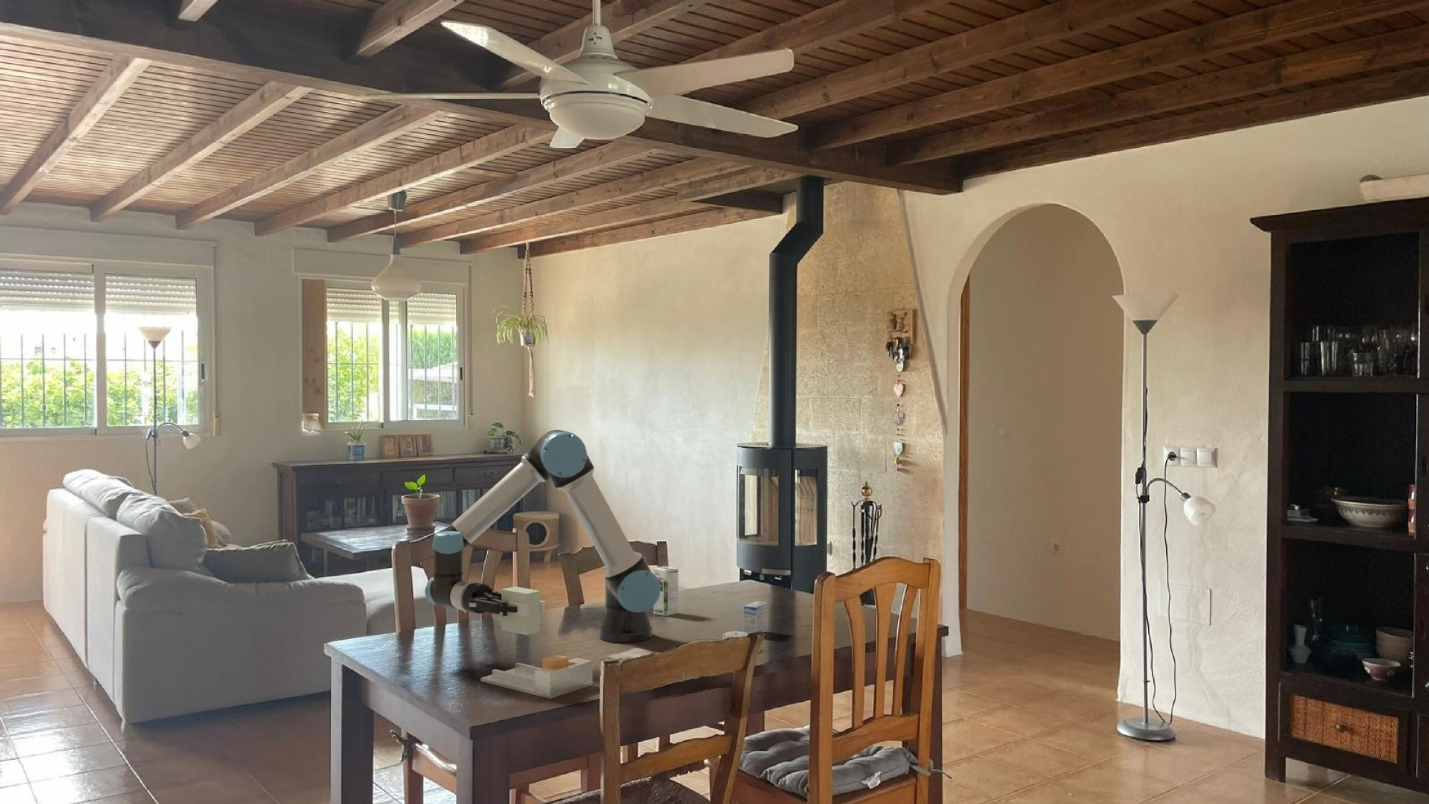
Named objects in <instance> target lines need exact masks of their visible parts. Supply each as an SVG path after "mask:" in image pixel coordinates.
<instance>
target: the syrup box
mask: <svg viewBox="0 0 1429 804" xmlns="http://www.w3.org/2000/svg"><path fill="white" fill-rule="evenodd" d="M653 574H654V575H655V576H656V577H657V578H658V581H659V584H660V596H659V598H658V601H657V602H656V604H655V605H654V606H653V614H654V615H658V616H659V615H660V616H662V617H663V616H664V617H669V616H672V615H676V614H679V568H678V567H677V568H676V567H670V566H658V567H654V569H653Z"/></svg>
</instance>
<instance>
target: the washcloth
mask: <svg viewBox="0 0 1429 804" xmlns="http://www.w3.org/2000/svg"><path fill="white" fill-rule="evenodd" d="M654 652H655V651H651V650H648V649H644V648H640V647H637V648H636V647H635V648H631V649H630V650H627V651H618V652H616V653H613V654H610V655H607V658H606V659H607V660H608V659H618V660H620V659H626V658H636V657H640V656H642V655H649V654H650V653H654Z"/></svg>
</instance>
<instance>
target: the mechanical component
mask: <svg viewBox="0 0 1429 804" xmlns="http://www.w3.org/2000/svg"><path fill="white" fill-rule="evenodd" d="M746 635H748V633H745V632H744V631H739V630H737V631H735V630H734V631H726V632H725V633H722V638H721V639H725V638H731V637H743V636H746Z"/></svg>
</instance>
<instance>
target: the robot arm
mask: <svg viewBox="0 0 1429 804" xmlns="http://www.w3.org/2000/svg"><path fill="white" fill-rule="evenodd" d="M594 470H595V467H594V465H593V463H592V460H591V459H590V457H589V455H588V451H587V449H586V445H585V443H584V441H583V440H582V439H581V438H580V437H579V436H577V435H576V434H575V433H573V432H570V431H566V430H562V429H561V430H560V429H554V430H550V431H547V432H546V433H544V434H543V435H542V436H540V438H539V439H537V441H536V442H535V443H534V444H533V445H532V446H531V448H529V449H528V450H527V451H526V452H525V453H523V455H522V456H521V460H520V462H519V463H518V464H517V465H516V466H515V467H514V468H513V469H512V470H510V471H509V472H508V473H507V474H506V475H505V476H504V477H502V479H500V480H499V481H497V483H496V484H495V485H494V486H492V488H491V489H489V490H488V491H487V492H486V493H484V494H483V495H482V496H481V497H480V498H479V499H478V500H476V502H474V504H472V505H471V506H470V507H469V508H468V509H467V510H466V511H465V512H463V513H462V514H461V515H460V516H459V517H457V518H456V519H455V520H454V521H453V522H452V523H451V524H450V525H449V526H448V527H447V528H446V529H444V530H443V531H438V532H436V533H435V534H434V535H433V539H432V541H431V552H432V556H433V559H432V560H433V575H432V576H433V577H431V578H429V580H428V581H427V583H426V585H425V588H424V595H425V599H427V601H428V603H431V604H433V605H435V606H438V607H441V608H449V609H453V610H454V609H455V610H461V611H463V613H465V614H466V613H468V612H469V613H474V614H479V615H481V614H483V613H484V614H485V613H491V614H494V615H499V614H501V612H502V613H503V616H507V612H509V613H510V614H516V615H521V616H526V617H528V616H529V605H527V604H521V603H516V602H509V605H508V604H507V602H505V601H502V600H501V592H499V591H498V590H495V591H493V589H492V588H491V587H490V585H489V584H487V583H482V582H476V581H471V580H464V569H463V568H464V551H465V550H466V549H468V547H469V546H470V545H471V544H472V543H473V542H474V541H475V540H476V539H478V537H480V536H481V535H482V534H483V533H484V532H485V531H486V530H487V529H489V527H492V525H493V524H494V523H495V522H497V520H499V519H500V518H501V517H502V516H504V514H506V513H507V512H508V511H509V510H510V509H511V508H512V507H514V505H516V503H518V502H520V500H521V499H523V497H524V496H526V495H527V494H528V493H529V492H530V491H531V490H532V489H533V488H535V487H536V486H537V485H538V484H539V483H545V482H547V481H548V480H549V479H550V480H551V482H552V483H553V485H554V487H555V489H557V490H559V491H563V492H564V494H565V496H566V497H567V499H568V500H569V502H570V505H571V506H572V508H573V511H574V512H575V513H576V515H577V517H578V519H579V520H580V523H581V524H582V526H583V528H584V530H585V532H586V533H587V536H588V537H589V539H590V541H591V542H592V545H593V546H594V548H595V550H596V551H597V553H598V555H599V557H600V559H601V560H602V562H603V564H604V572H603V576H604V578H605V579H604V582H605V585H604V587H605V590H604V591H605V592H604V594H605V596H604V597H605V601H604V602H605V609H604V613H603V617H602V619H601V624H600V625H601V626H600V627H599V630H598V631H599V634H598V637H599V639H601V640H602V641H603V640H604V641H606V642H613V643H637V642H642V641H646V640H649V639H650V638H652V637H653V626H652V625H651V621H650V618H649V615H648V610H650V609H651V608H654V605H655V604H656V602H657V601H658V598H659V596H660V584H659V581H658V578H657V577H656V576H655V575H654V572H652V570H651V568H650V567H649V565H648V563H647V560H646V557H645V556H643V554H642V553H640V552H637V551H634V550H633V548H632V546H631V544H630V542H629V540H628V538H627V537H626V535H625V533H624V531H623V529H622V527H621V526H620V523H619V522H618V521H617V519H616V516H615V515H614V513H613V511H612V509H611V507H610V505H609V504H608V502H607V500H606V498H605V496H604V494H603V493H602V491H601V488H600V487H599V485H598V484H597V481H596V480H595V479H594V476H593V473H594ZM541 613H542V614H544V613H546V601H545V600H540V614H541Z"/></svg>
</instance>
